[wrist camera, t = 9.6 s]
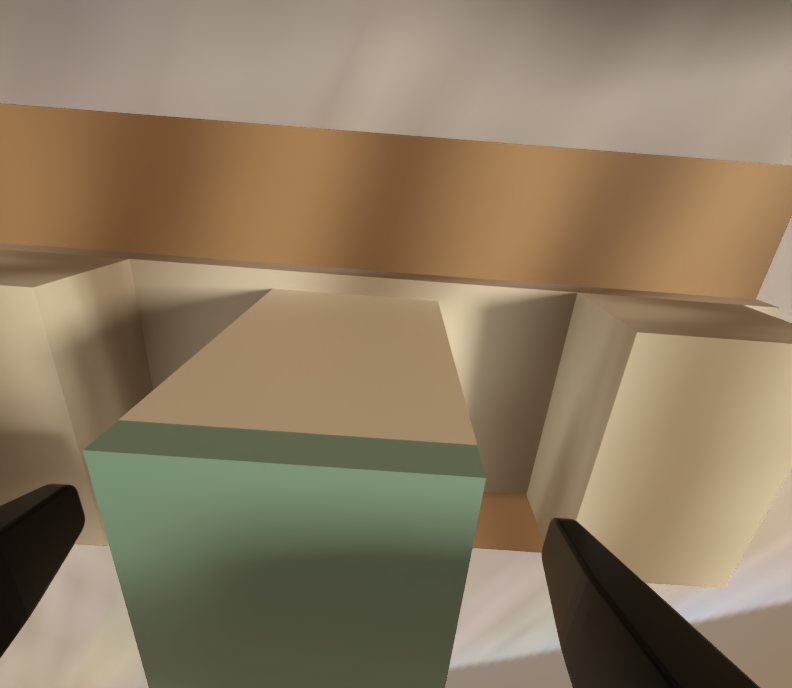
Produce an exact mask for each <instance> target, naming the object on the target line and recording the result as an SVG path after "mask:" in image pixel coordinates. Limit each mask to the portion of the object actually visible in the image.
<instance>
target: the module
mask: <svg viewBox="0 0 792 688" xmlns="http://www.w3.org/2000/svg"><path fill="white" fill-rule="evenodd" d="M83 453H84V456H85V460H86V464H87V467H88V471H89V474H90V478H91V482H92V485H93V489H94V492H95V496H96V499H97V503H98V507H99V510H100V514H101V517H102V521H103V525H104V528H105V532H106V535H107V539H108V542H109V546H110V550H111V553H112V557H113V560H114V564H115V567H116V571H117V575H118V578H119V582H120V585H121V589H122V593H123V596H124V600H125V603H126V607H127V610H128V614H129V618H130V621H131V625H132V628H133V632H134V636H135V639H136V643H137V646H138V650H139V653H140V657H141V661H142V664H143V668H144V671H145V675H146V679H147V682H148V686H149V688H445V684H446V679H447V674H448V669H449V664H450V659H451V654H452V649H453V644H454V639H455V634H456V629H457V623H458V618H459V613H460V608H461V603H462V598H463V593H464V588H465V583H466V578H467V573H468V568H469V562H470V557H471V552H472V547H473V542H474V537H475V532H476V527H477V522H478V517H479V512H480V507H481V502H482V496H483V491H484V486H485V481H486V476H485V472H484V468H483V465H482V461H481V457H480V454H479V450H478V446H477V443H476V439H475V435H474V432H473V428H472V424H471V421H470V417H469V413H468V410H467V406H466V402H465V399H464V395H463V391H462V388H461V384H460V380H459V377H458V373H457V369H456V366H455V362H454V358H453V355H452V351H451V347H450V344H449V340H448V336H447V332H446V329H445V325H444V321H443V318H442V314H441V310H440V307H439V303H438V301H435V300H421V299H408V298H394V297H381V296H367V295H353V294H340V293H326V292H312V291H299V290H285V289H272V290H271V291H269V292H268V293H267V294H266V295H265V296H264V297H262V298H261V299H260V300H259V301H258V302H257V303H255V304H254V305H253V306H252V307H251V308H249V309H248V310H247V311H246V312H245V313H244V314H242V315H241V316H240V317H239V318H238V319H237V320H235V321H234V322H233V323H232V324H231V325H229V326H228V327H227V328H226V329H225V330H224V331H222V332H221V333H220V334H219V335H218V336H217V337H215V338H214V339H213V340H212V341H211V342H209V343H208V344H207V345H206V346H205V347H204V348H202V349H201V350H200V351H199V352H198V353H197V354H195V355H194V356H193V357H192V358H191V359H189V360H188V361H187V362H186V363H185V364H184V365H182V366H181V367H180V368H179V369H178V370H177V371H175V372H174V373H173V374H172V375H171V376H169V377H168V378H167V379H166V380H165V381H164V382H162V383H161V384H160V385H159V386H158V387H157V388H155V389H154V390H153V391H152V392H151V393H149V394H148V395H147V396H146V397H145V398H144V399H142V400H141V401H140V402H139V403H138V404H137V405H135V406H134V407H133V408H132V409H131V410H129V411H128V412H127V413H126V414H125V415H124V416H122V417H121V418H120V419H119V420H118V421H117V422H115V423H114V424H113V425H112V426H111V427H109V428H108V429H107V430H106V431H105V432H104V433H102V434H101V435H100V436H99V437H98V438H97V439H95V440H94V441H93V442H92V443H91V444H89V445H88V446H87V447H86V448H85V449H84V450H83Z"/></svg>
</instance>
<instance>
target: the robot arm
mask: <svg viewBox="0 0 792 688" xmlns="http://www.w3.org/2000/svg"><path fill="white" fill-rule="evenodd" d="M84 524H85V514H84V511H83V507H82V504H81V501H80V497H79V494H78V491H77V489H76V488H75V487H74V486H73V485H69V484H54V483H53V484H47V485H44V486H42V487H40V488H38V489H36V490H33V491H31V492H29V493H27V494H25V495H23V496H20V497H18V498H16V499H14V500H12V501H10V502H7V503H5V504H3V505H1V506H0V658H1V656H2V655H3V654H4V652H5V651H6V649H7V648H8V647H9V645H10V644H11V643H12V641H13V640H14V638H15V637H16V636H17V634H18V633H19V631H20V630H21V629H22V627H23V626H24V624H25V623H26V621H27V620H28V618H29V617H30V615H31V614H32V612H33V611H34V609H35V608H36V606H37V604H38V603H39V601H40V600H41V598H42V596H43V595H44V593H45V591H46V590H47V588H48V587H49V585H50V583H51V582H52V580H53V578H54V577H55V575H56V573H57V572H58V570H59V568H60V567H61V565H62V563H63V562H64V560H65V558H66V557H67V555H68V554H69V552H70V550H71V549H72V547H73V545H74V544H75V542H76V540H77V539H78V537H79V535H80V534H81V532H82V530H83V527H84ZM542 562H543V567H544V571H545V576H546V581H547V585H548V590H549V595H550V600H551V604H552V609H553V614H554V618H555V623H556V628H557V632H558V637H559V641H560V645H561V650H562V653H563V657H564V660H565V664H566V667H567V670H568V674H569V677H570V680H571V683H572V686H573V688H760V687H759V686H758V685H757V684H756V683H755V682H754V681H752V680H751V679H750V678H749V677H748V676H747V675H746V674H745V673H744V672H743V671H741V670H740V669H739V668H738V667H737V666H736V665H734V663H733V662H732V661H730V660H729V659H728V658H727V657H726V656H725V655H724V654H723V653H722V652H721V651H719V650H718V649H717V648H716V647H715V646H714V645H713V644H712V643H711V642H710V641H708V640H707V639H706V638H705V637H704V636H703V635H702V634H701V633H700V632H698V631H697V630H696V629H695V628H694V627H693V626H692V625H691V624H690V623H689V622H688V621H686V620H685V619H684V618H683V617H682V616H681V615H680V614H679V613H678V612H677V611H675V610H674V609H673V608H672V607H671V606H670V605H669V604H668V603H667V602H666V601H664V600H663V599H662V598H661V597H660V596H659V595H658V594H657V593H656V592H655V591H653V590H652V589H651V588H650V587H649V586H648V585H647V584H646V583H645V582H644V581H642V580H641V579H640V578H639V577H638V576H637V575H636V574H635V573H634V572H633V571H631V570H630V569H629V568H628V567H627V566H626V565H625V564H624V563H623V562H622V561H620V560H619V559H618V558H617V557H616V556H615V555H614V554H613V553H612V552H611V551H609V550H608V549H607V548H606V547H605V546H604V545H603V544H602V543H601V542H600V541H598V540H597V539H596V538H595V537H594V536H593V535H592V534H591V533H590V532H589V531H587V530H586V529H585V528H584V527H583V526H582V525H581V524H580V523H579V522H577V521H576V520H574V519H569V518H553V519H552V520H551V521H550V523H549V527H548V530H547V533H546V537H545V540H544V544H543V548H542Z"/></svg>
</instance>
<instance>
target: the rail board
mask: <svg viewBox="0 0 792 688" xmlns="http://www.w3.org/2000/svg"><path fill="white" fill-rule="evenodd" d="M791 216H792V166H790V165H777V164H764V163H752V162H739V161H726V160H714V159H701V158H688V157H675V156H663V155H650V154H637V153H625V152H612V151H599V150H586V149H574V148H561V147H548V146H536V145H523V144H510V143H497V142H485V141H472V140H459V139H447V138H434V137H421V136H408V135H396V134H383V133H370V132H358V131H345V130H332V129H319V128H307V127H294V126H281V125H269V124H256V123H243V122H230V121H218V120H205V119H192V118H180V117H167V116H154V115H141V114H129V113H116V112H103V111H91V110H78V109H65V108H52V107H40V106H27V105H14V104H2V103H0V506H1V505H3V504H5V503H7V502H10V501H12V500H14V499H16V498H18V497H20V496H23V495H25V494H27V493H29V492H31V491H33V490H36V489H38V488H40V487H42V486H44V485H47V484H53V483H54V484H69V485H73V486H74V487H75V488H76V489H77V491H78V494H79V497H80V501H81V504H82V507H83V511H84V514H85V524H84V527H83V530H82V532H81V534H80V535H79V537H78V539H77V540H76V542H75V544H80V545H95V546H107V544H108V543H109V542H108V539H107V535H106V532H105V528H104V525H103V521H102V517H101V514H100V510H99V507H98V503H97V499H96V496H95V492H94V489H93V485H92V482H91V478H90V474H89V471H88V467H87V464H86V460H85V456H84V453H83V450H84V449H85V448H86V447H87V446H88V445H89V444H91V443H92V442H93V441H94V440H95V439H97V438H98V437H99V436H100V435H101V434H102V433H104V432H105V431H106V430H107V429H108V428H109V427H111V426H112V425H113V424H114V423H115V422H117V421H118V420H119V419H120V418H121V417H122V416H124V415H125V414H126V413H127V412H128V411H129V410H131V409H132V408H133V407H134V406H135V405H137V404H138V403H139V402H140V401H141V400H142V399H144V398H145V397H146V396H147V395H148V394H149V393H151V392H152V391H153V390H154V389H155V388H157V387H158V386H159V385H160V384H161V383H162V382H164V381H165V380H166V379H167V378H168V377H169V376H171V375H172V374H173V373H174V372H175V371H177V370H178V369H179V368H180V367H181V366H182V365H184V364H185V363H186V362H187V361H188V360H189V359H191V358H192V357H193V356H194V355H195V354H197V353H198V352H199V351H200V350H201V349H202V348H204V347H205V346H206V345H207V344H208V343H209V342H211V341H212V340H213V339H214V338H215V337H217V336H218V335H219V334H220V333H221V332H222V331H224V330H225V329H226V328H227V327H228V326H229V325H231V324H232V323H233V322H234V321H235V320H237V319H238V318H239V317H240V316H241V315H242V314H244V313H245V312H246V311H247V310H248V309H249V308H251V307H252V306H253V305H254V304H255V303H257V302H258V301H259V300H260V299H261V298H262V297H264V296H265V295H266V294H267V293H268V292H269V291H271V290H272V289H285V290H299V291H312V292H326V293H340V294H353V295H367V296H381V297H394V298H408V299H421V300H435V301H438V303H439V307H440V310H441V314H442V318H443V321H444V325H445V329H446V332H447V336H448V340H449V344H450V347H451V351H452V355H453V358H454V362H455V366H456V369H457V373H458V377H459V380H460V384H461V388H462V391H463V395H464V399H465V402H466V406H467V410H468V413H469V417H470V421H471V424H472V428H473V432H474V435H475V439H476V443H477V446H478V450H479V454H480V457H481V461H482V465H483V468H484V472H485V476H486V481H485V486H484V491H483V496H482V502H481V507H480V512H479V517H478V522H477V527H476V532H475V537H474V542H473V547H472V548H482V549H497V550H511V551H526V552H541V553H542V548H543V544H544V540H545V537H546V533H547V530H548V527H549V523H550V521H551V520H552V519H553V518H569V519H574V520H576V521H577V522H579V523H580V524H581V525H582V526H583V527H584V528H585V529H586V530H587V531H589V532H590V533H591V534H592V535H593V536H594V537H595V538H596V539H597V540H598V541H600V542H601V543H602V544H603V545H604V546H605V547H606V548H607V549H608V550H609V551H611V552H612V553H613V554H614V555H615V556H616V557H617V558H618V559H619V560H620V561H622V562H623V563H624V564H625V565H626V566H627V567H628V568H629V569H630V570H631V571H633V572H634V573H635V574H636V575H637V576H638V577H639V578H640V579H641V580H642V581H644V582H645V583H656V584H671V585H685V586H700V587H715V588H725V587H726V585H727V583H728V582H729V580H730V578H731V576H732V574H733V573H734V571H735V569H736V567H737V566H738V564H739V562H740V560H741V558H742V557H743V555H744V553H745V551H746V549H747V548H748V546H749V544H750V542H751V541H752V539H753V537H754V535H755V533H756V532H757V530H758V528H759V526H760V524H761V523H762V521H763V519H764V517H765V516H766V514H767V512H768V510H769V508H770V507H771V505H772V503H773V501H774V499H775V498H776V496H777V494H778V492H779V491H780V489H781V487H782V485H783V483H784V482H785V480H786V478H787V476H788V474H789V473H790V471H791V469H792V323H789V322H787V321H784V320H781V319H779V318H776V317H775V316H776V314H777V312H778V310H779V307H776V306H773V305H770V304H767V303H765V302H762V301H759V300H756V297H757V295H758V293H759V290H760V288H761V286H762V283H763V281H764V279H765V276H766V274H767V272H768V269H769V267H770V265H771V262H772V260H773V258H774V255H775V253H776V251H777V248H778V246H779V244H780V241H781V239H782V237H783V235H784V232H785V230H786V228H787V225H788V223H789V221H790V218H791Z"/></svg>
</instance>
